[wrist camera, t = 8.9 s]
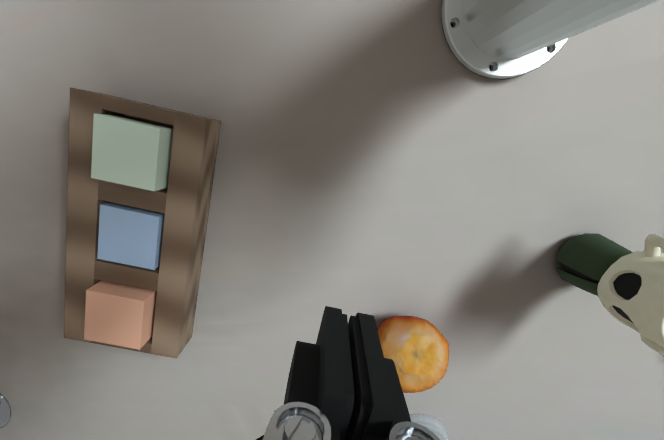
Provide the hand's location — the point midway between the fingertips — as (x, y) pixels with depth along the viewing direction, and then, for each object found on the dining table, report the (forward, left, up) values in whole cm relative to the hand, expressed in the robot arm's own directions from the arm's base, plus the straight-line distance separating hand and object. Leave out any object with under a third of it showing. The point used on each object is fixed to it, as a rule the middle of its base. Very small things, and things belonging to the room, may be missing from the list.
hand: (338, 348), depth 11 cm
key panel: (+7, -19, -25) cm, 32 cm away
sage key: (-1, -19, -22) cm, 29 cm away
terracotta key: (+15, -19, -22) cm, 33 cm away
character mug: (0, +29, -25) cm, 38 cm away
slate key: (+7, -19, -24) cm, 31 cm away
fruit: (+14, +12, -25) cm, 31 cm away
